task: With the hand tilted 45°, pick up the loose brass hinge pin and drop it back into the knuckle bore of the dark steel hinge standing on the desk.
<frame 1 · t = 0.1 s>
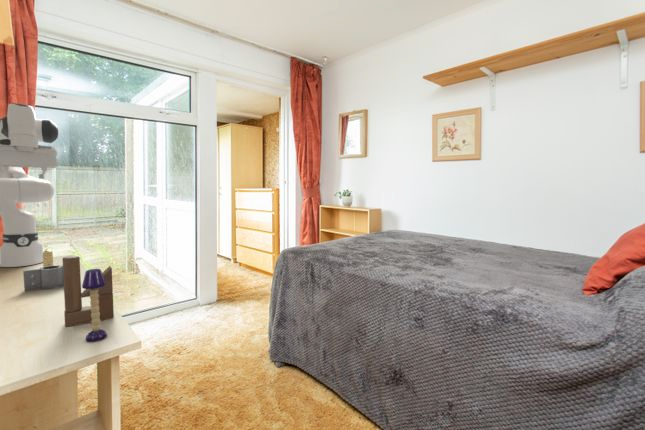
hand: (26, 178, 135), 39 cm above the table, tool pointing down, fingers open, 8 cm apart
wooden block: (90, 321, 91), on the table
toy lamp: (96, 338, 81), on the table
hinge: (52, 286, 120), on the table
brass pin: (49, 277, 131), on the table
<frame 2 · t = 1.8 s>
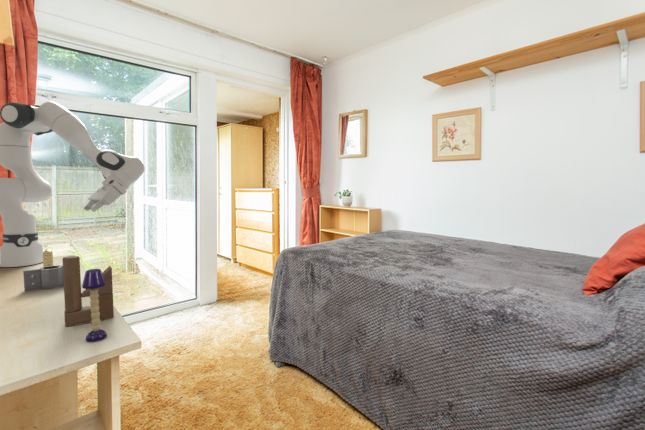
hand: (88, 210, 140), 26 cm above the table, tool tilted 45°, fingers open, 8 cm apart
nothing on the table moved.
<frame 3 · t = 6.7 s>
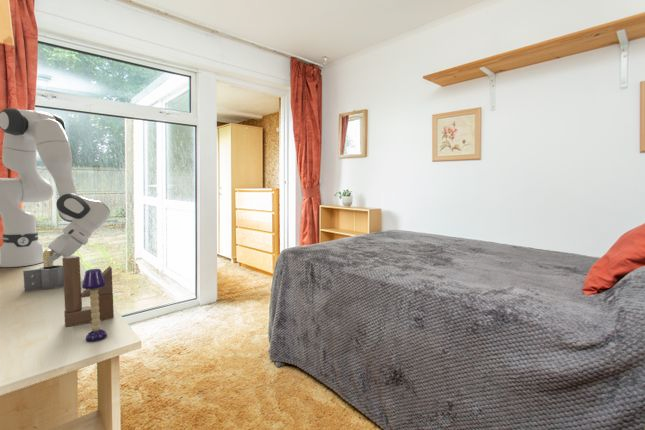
hand: (46, 262, 130), 6 cm above the table, tool tilted 45°, fingers closed on brass pin, 3 cm apart
brass pin: (49, 277, 131), on the table, touching gripper
everything else where it was.
when the fingers open (15 cm above the table, at t = 11.2 s): brass pin drops 8 cm, resting in hinge.
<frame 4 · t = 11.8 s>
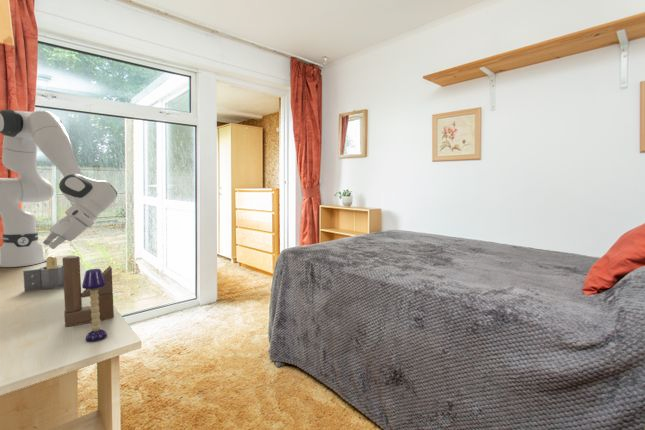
hand: (47, 245, 119), 15 cm above the table, tool tilted 45°, fingers open, 8 cm apart
brass pin: (52, 286, 120), resting in hinge
everything else where it was.
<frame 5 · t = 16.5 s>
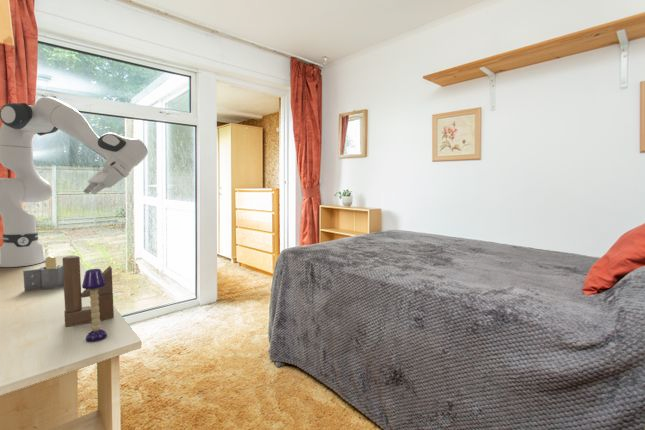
hand: (88, 193, 133), 33 cm above the table, tool tilted 45°, fingers open, 8 cm apart
nothing on the table moved.
at the end: brass pin 0.2 cm off-centre on the hinge, point 0.0 cm above the hinge's base; brass pin tilted 1°; the gripper is holding nothing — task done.
